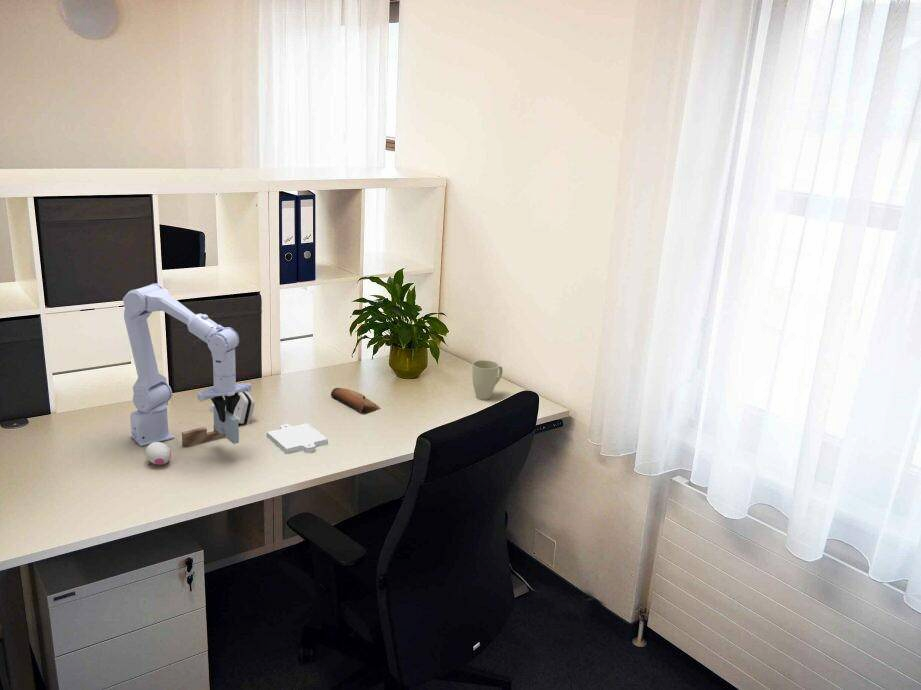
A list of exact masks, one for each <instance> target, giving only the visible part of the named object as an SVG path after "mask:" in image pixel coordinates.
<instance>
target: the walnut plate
mask: <svg viewBox="0 0 921 690" xmlns="http://www.w3.org/2000/svg"><path fill="white" fill-rule="evenodd" d="M212 426H213V427H214V424H213V425H212ZM222 438H223V439H224V438H226V433H225V434H220V433H219V432H218V431H216V430H215V429H214V428H213V430H212V431H208V428H207V427H206V426H203V427H197V428H193V429H190V430H185V431H181V445H182V447H184V448H186V447H191V446H195V445H198V444H203V443H208V442H211V441H214V440H218V439H222Z"/></svg>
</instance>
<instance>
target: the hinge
mask: <svg viewBox="0 0 921 690" xmlns="http://www.w3.org/2000/svg"><path fill="white" fill-rule="evenodd" d="M238 395H240V400H239V402H238V403H237V405H236V408H235V410H234V414H233V415H234V416H235V417H236V418H238V423H239V424H241V425H242V424H244V423H245V424H246V425H250V424H251V421H252V419H253V418H252V416H253V414H254V409H255V404H256V402H255V400H254V398H253V397H252V395H251V394H250V392H247V391H245V392H240V393H238ZM223 398H224V400H225V397H224V396H223ZM213 405H214V404H213V403H212V404H211V405H210V407H209V411H210V412H211V413H213V414H214V412H213ZM225 410H226V406H225Z"/></svg>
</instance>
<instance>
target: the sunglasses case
mask: <svg viewBox="0 0 921 690" xmlns="http://www.w3.org/2000/svg"><path fill="white" fill-rule="evenodd" d="M330 396H331V398H334V399H336V400H338V401H340V402H343V403H344V404H345V405H348V406H350V407H351V408H353V409H355V410H357V411H358V412H360V413H362V414H363V415H366V414H370V413H373V412H376V410H377V411H379V410H382V408H381V407H380V406H379V405H378V404H376V403H375V402H374V401H373V400H370V399H369V398H367V397H366V396H365V395H364V394H363V393H360V392H358V391H354V390H352V389H349V388H344V387H335V388H333V389H332V390H331V392H330ZM378 409H379V410H378Z"/></svg>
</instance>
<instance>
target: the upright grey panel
mask: <svg viewBox="0 0 921 690" xmlns="http://www.w3.org/2000/svg"><path fill="white" fill-rule="evenodd" d="M213 412H214V413H213ZM213 412H212V413H213V425H214V426H213V430H214V429H215V430H216V431H218V432H219V433H220V434H225V433H226V437H225V439H227V440H228V441H229V443H230V442H231V443H232V444H233V445H236V444H239V443H240V432H239V431H240V430H239V424H240V423H238V418H236V417H235V416H234V415H232V414H231V413H230V412H228V411H227V410H225V422H221V421H220V420H219V416H218V413H217V410H216V408H215V405H213Z"/></svg>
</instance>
